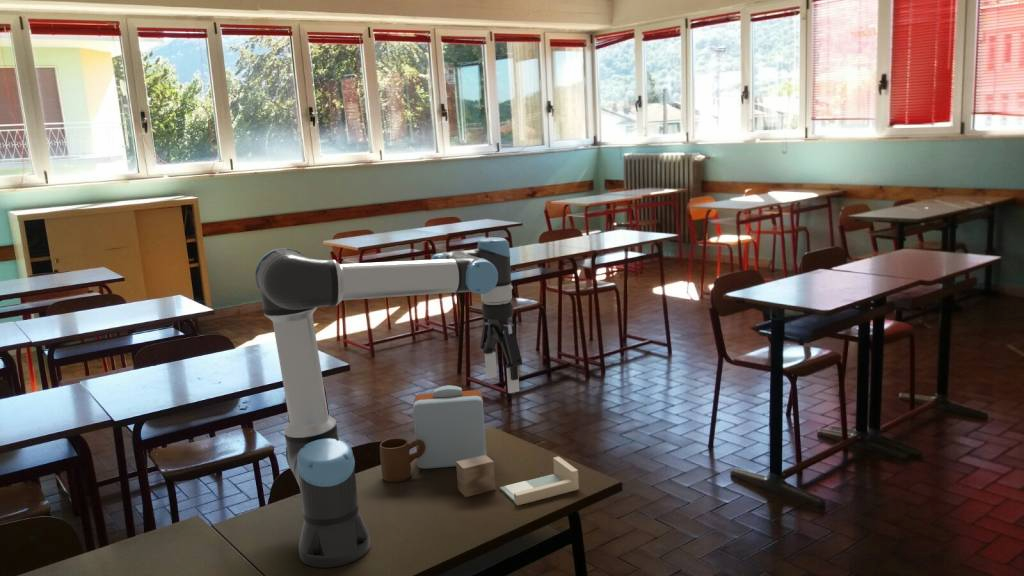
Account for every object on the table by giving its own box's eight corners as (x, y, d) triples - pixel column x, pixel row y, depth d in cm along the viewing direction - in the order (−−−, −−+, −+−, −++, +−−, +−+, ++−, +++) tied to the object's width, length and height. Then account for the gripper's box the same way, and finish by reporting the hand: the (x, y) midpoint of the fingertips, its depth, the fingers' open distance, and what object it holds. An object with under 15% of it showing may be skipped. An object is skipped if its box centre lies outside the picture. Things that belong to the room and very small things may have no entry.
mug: (423, 465, 219) (420, 432, 217) (431, 475, 212) (428, 441, 210) (379, 474, 215) (376, 441, 213) (386, 485, 208) (382, 450, 206)
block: (465, 497, 198) (463, 468, 197) (458, 489, 203) (456, 461, 202) (495, 489, 202) (493, 461, 200) (487, 482, 206) (485, 454, 205)
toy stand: (517, 505, 192) (516, 485, 191) (500, 489, 201) (499, 470, 200) (578, 489, 199) (577, 470, 198) (559, 474, 208) (558, 456, 207)
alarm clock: (486, 452, 225) (481, 381, 222) (487, 464, 217) (482, 391, 213) (419, 457, 225) (413, 386, 221) (417, 470, 216) (411, 396, 212)
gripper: (533, 307, 188) (538, 395, 192) (491, 291, 211) (496, 370, 215) (503, 312, 185) (509, 401, 189) (464, 295, 208) (469, 375, 212)
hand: (502, 384), depth 202 cm, fingers open, 13 cm apart
